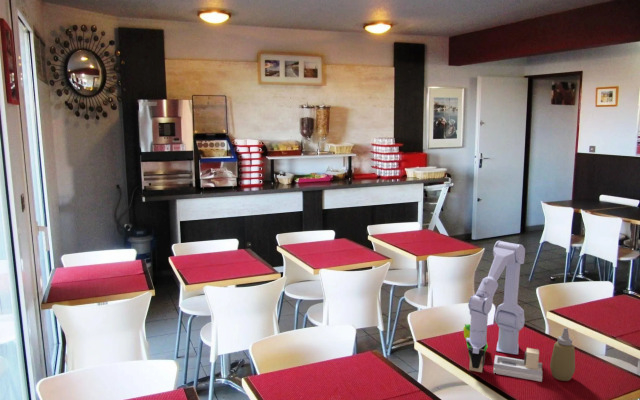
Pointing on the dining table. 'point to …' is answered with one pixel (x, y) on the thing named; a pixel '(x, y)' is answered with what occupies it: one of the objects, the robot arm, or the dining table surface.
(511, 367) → the rail
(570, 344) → the squeeze bottle
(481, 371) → the maple finger
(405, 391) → the dining table surface
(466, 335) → the fruit basket
